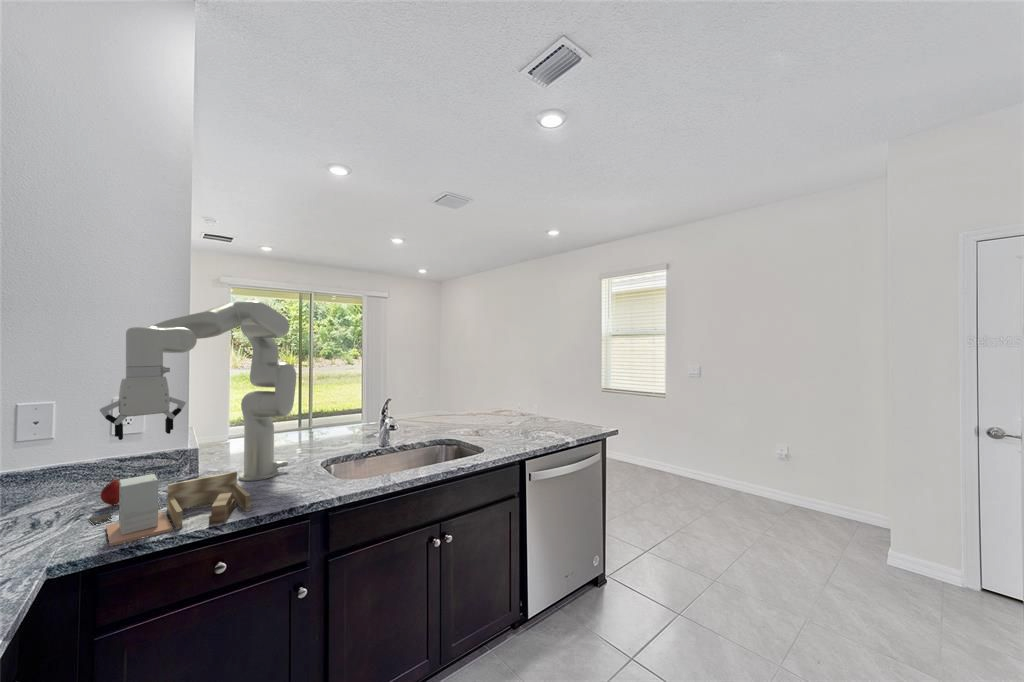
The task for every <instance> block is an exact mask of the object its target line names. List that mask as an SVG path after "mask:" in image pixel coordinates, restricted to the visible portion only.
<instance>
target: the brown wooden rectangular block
mask: <svg viewBox="0 0 1024 682" xmlns="http://www.w3.org/2000/svg"><path fill="white" fill-rule="evenodd" d="M235 507H236V501H235V499H233V498H232V492H231V493H223V494H219V496H218V497H217V499H216V500H215V502H213V504H212V505H211V510H210V511H211V512H210V514H209V516H208V525H209V526H211V525H215V524H216V525H217V524H224V523H226V521H227V520H228V519H229V517H230V515H231V513H232V512H233V510H234V509H235Z"/></svg>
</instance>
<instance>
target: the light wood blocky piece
mask: <svg viewBox="0 0 1024 682" xmlns="http://www.w3.org/2000/svg"><path fill="white" fill-rule="evenodd" d="M166 489H167V491H166V492H167V493H166V494H167V495H166V498H167V499H166V503H167V504H166V505H167V506H166V512H167V514H168V516H169V515H170V516H169V517H171V518H170V520H171V521H172V523H173V526H174V527H175V528H176V530H178V529H181V528H183V515H184V514H183V510H185V509H184V508H186V509H189V508H188V507H191V508H193V507H192V506H195V507H199V506H205V505H209V504H212V503H214V502H215V500H216V499H217V497H218V496H219V494H223V493H231V492H232V499H235V503H236V504H237V505H239V507H241V508H242V509H243V510H244V511H245V512H248V511H251V506H252V505H251V501H252V500H251V496H252V495H251V494H250V493H249V492H248V491H247V490H245V488H243V487H242V486H241V485H240V484H238V472H237V471H230V472H226V473H221V474H215V475H211V476H205V477H200V478H198V477H197V478H195V479H188V480H184V481H179V482H174V483H168V484H167V488H166ZM198 505H199V506H198Z"/></svg>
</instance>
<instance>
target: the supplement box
mask: <svg viewBox="0 0 1024 682" xmlns="http://www.w3.org/2000/svg"><path fill="white" fill-rule="evenodd" d="M118 482H119V503H118V505H119V506H118V507H119V510H118V511H119V520H118V523H119V527H120V530H121V534H122V535H125V534H128V533H132V532H136V531H140V530H144V529H148V528H152V527H156V526H158V514H159V510H158V504H159V479H158V478H157V476H156V474H155V473H151V474H147V475H140V476H134V477H129V478H124V479H123V478H122V479H118Z"/></svg>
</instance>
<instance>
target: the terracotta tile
mask: <svg viewBox="0 0 1024 682" xmlns="http://www.w3.org/2000/svg"><path fill="white" fill-rule="evenodd" d="M106 529H107V530H106ZM173 529H174V527H173V525H172V523H171V522H170V520H169V517H168V516H167V514H166V513H165V512H160V513H158V526H156V527H152V528H148V529H144V530H140V531H136V532H132V533H128V534H125V535H122V534H121V530H120V527H119V522H116V523H112V524H107V525H106V527H105V530H106V535H107V534H108V536H107V540H109V542H108V546H109V548H110V546H111V547H114V546H113V545H115V546H118V544H119V545H122V543H123V544H125V543H124V542H127V543H129V542H133V541H132V540H134V541H137V539H138V540H141V539H140V538H142V537H146V538H148V537H147V536H150V537H152V536H151V535H154V536H157V535H156V534H158V535H161V534H160V533H162V534H165V532H166V533H169V532H172V531H173ZM142 539H143V538H142Z"/></svg>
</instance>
